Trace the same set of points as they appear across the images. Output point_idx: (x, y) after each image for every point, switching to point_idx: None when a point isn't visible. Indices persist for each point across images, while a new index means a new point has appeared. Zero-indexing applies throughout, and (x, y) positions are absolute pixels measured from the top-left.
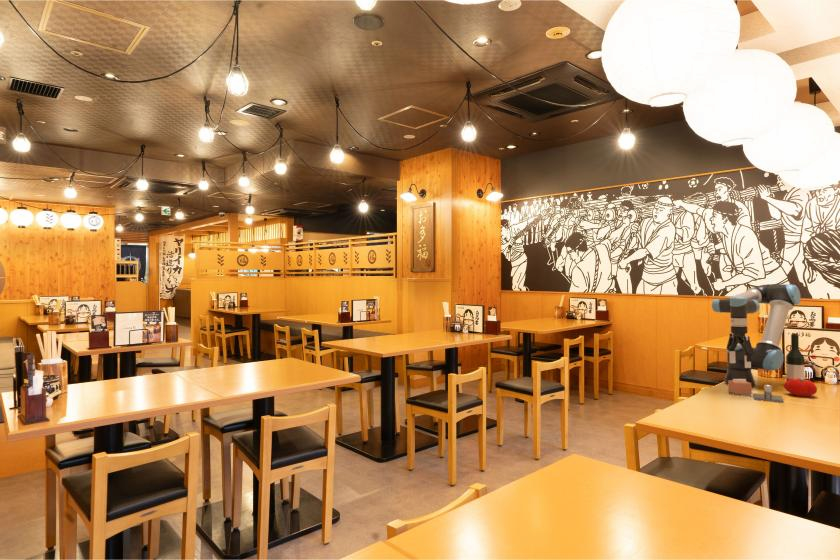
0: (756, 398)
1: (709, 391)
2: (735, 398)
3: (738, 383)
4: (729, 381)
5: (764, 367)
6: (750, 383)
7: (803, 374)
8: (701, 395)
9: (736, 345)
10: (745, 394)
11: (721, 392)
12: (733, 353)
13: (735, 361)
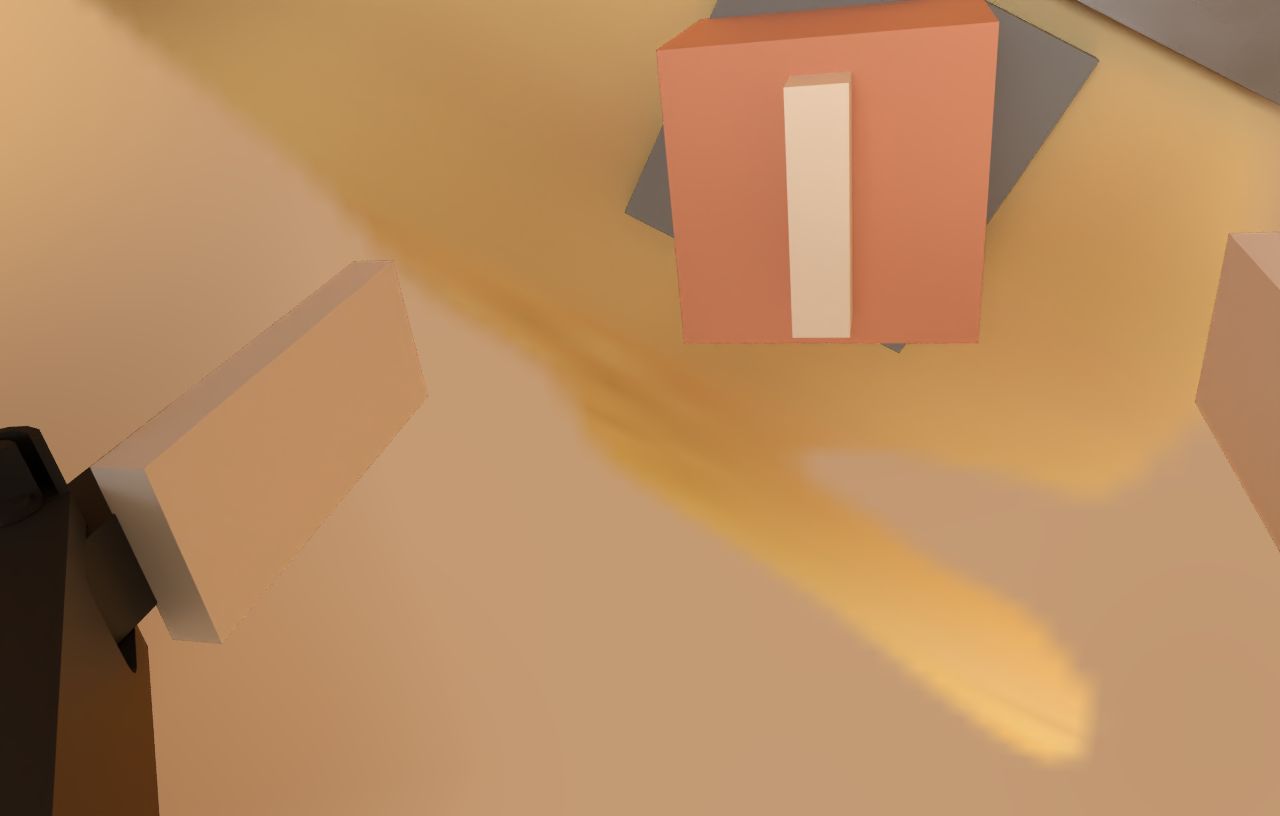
0: None
1: (703, 494)
2: None
3: (978, 301)
4: (733, 338)
5: None
6: (996, 39)
7: None
8: (961, 697)
9: (60, 744)
10: (1016, 134)
11: (760, 376)
12: (229, 479)
13: (366, 279)
